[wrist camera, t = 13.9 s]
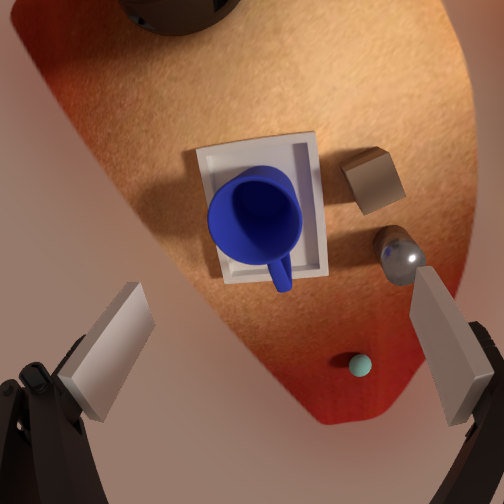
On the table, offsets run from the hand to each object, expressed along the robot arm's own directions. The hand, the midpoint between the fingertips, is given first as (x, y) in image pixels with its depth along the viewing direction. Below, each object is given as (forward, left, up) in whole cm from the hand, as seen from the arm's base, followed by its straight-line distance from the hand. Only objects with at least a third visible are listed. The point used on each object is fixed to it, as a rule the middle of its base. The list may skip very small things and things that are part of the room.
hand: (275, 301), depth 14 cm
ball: (+28, +8, -24) cm, 38 cm away
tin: (+9, +12, -24) cm, 28 cm away
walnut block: (0, +9, -24) cm, 26 cm away
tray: (+3, -3, -24) cm, 24 cm away
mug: (+3, -2, -23) cm, 24 cm away
